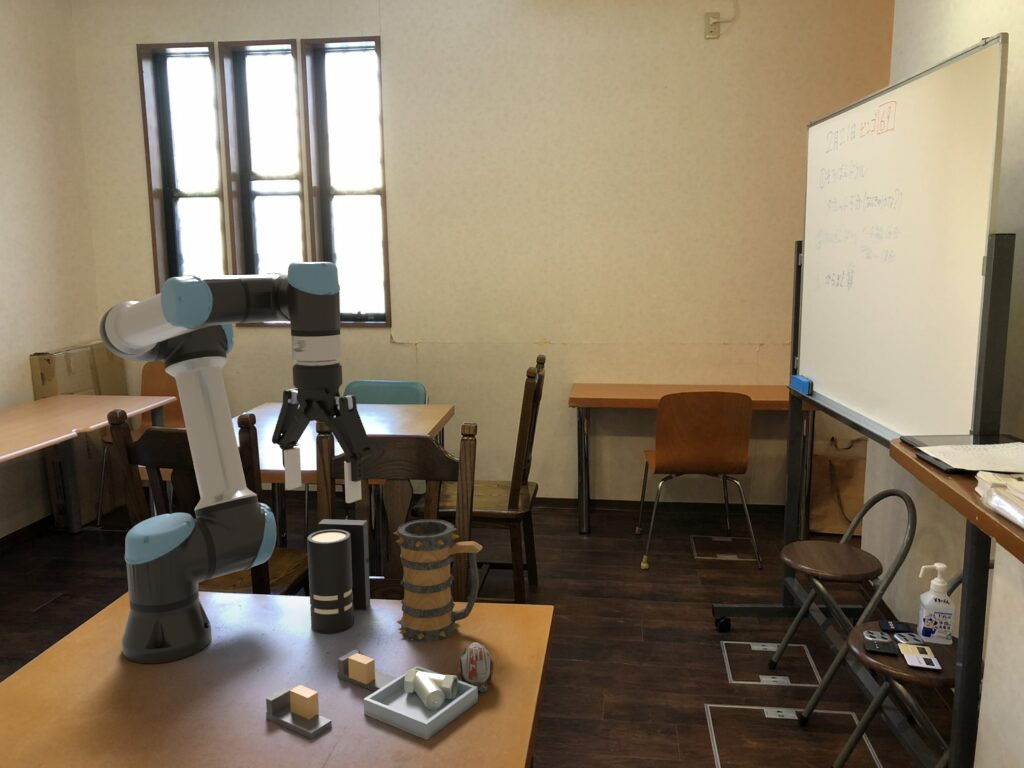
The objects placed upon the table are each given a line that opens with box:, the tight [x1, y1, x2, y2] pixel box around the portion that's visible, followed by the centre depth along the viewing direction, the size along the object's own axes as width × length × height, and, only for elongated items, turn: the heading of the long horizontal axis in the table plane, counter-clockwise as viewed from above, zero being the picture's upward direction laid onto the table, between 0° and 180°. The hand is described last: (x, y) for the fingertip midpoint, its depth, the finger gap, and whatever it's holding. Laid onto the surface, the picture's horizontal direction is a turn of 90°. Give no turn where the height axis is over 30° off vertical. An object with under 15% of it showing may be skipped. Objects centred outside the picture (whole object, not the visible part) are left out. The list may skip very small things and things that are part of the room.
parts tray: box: [363, 665, 479, 741], centre depth 129 cm, size 13×13×2 cm
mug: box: [393, 518, 483, 642], centre depth 155 cm, size 13×17×20 cm
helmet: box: [457, 641, 495, 693], centre depth 136 cm, size 6×8×7 cm
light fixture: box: [306, 518, 371, 635], centre depth 160 cm, size 10×14×18 cm
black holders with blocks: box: [265, 649, 397, 740], centre depth 131 cm, size 10×19×4 cm, turn 146°
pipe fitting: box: [404, 668, 459, 710], centre depth 130 cm, size 8×4×7 cm
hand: (322, 494), depth 131 cm, fingers open, 13 cm apart
